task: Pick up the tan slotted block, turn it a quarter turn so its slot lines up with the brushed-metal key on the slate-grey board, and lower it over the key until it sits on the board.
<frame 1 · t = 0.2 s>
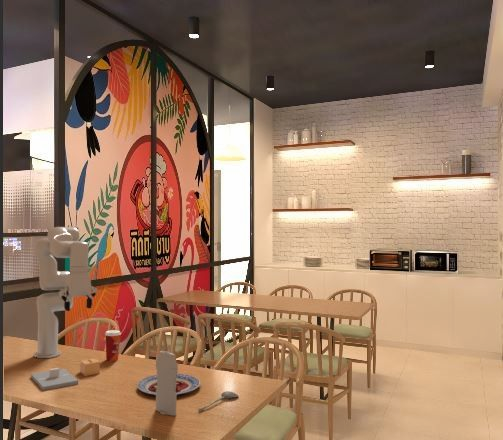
hand: (78, 309, 204), 30 cm above the table, tool pointing down, fingers open, 9 cm apart
paper cup: (112, 360, 233), on the table
soupspoon: (218, 404, 179), on the table
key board: (54, 380, 200), on the table
ceramic plate: (169, 388, 194), on the table
tall pale column: (165, 412, 169), on the table
tan slotted block: (89, 372, 212), on the table
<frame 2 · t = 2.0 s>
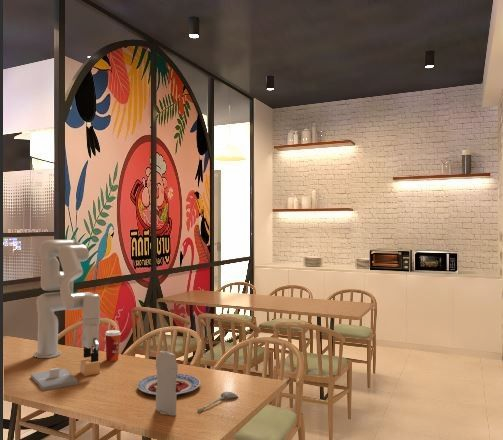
hand: (90, 359, 211), 6 cm above the table, tool pointing down, fingers open, 9 cm apart
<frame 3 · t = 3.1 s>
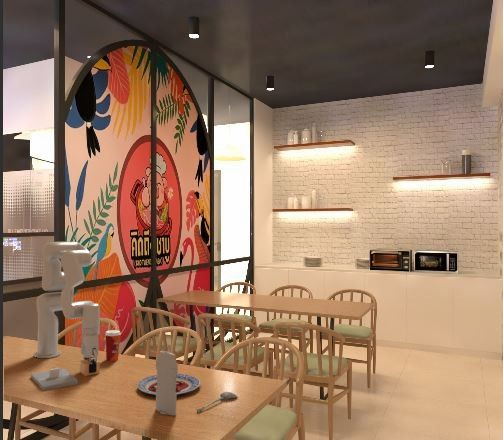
hand: (89, 370, 212), 1 cm above the table, tool pointing down, fingers closed on tan slotted block, 6 cm apart
tan slotted block: (89, 372, 212), on the table, touching gripper
everything else where it was.
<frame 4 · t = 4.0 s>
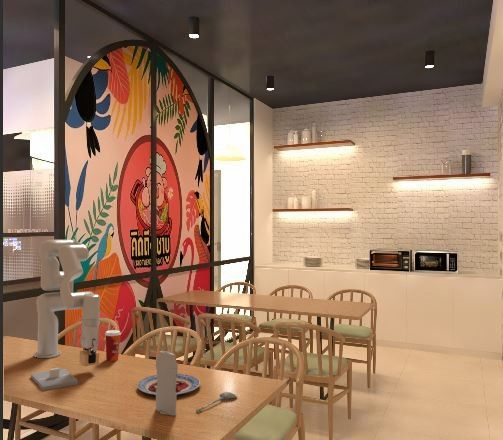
hand: (89, 360, 212), 5 cm above the table, tool pointing down, fingers closed on tan slotted block, 6 cm apart
tan slotted block: (89, 363, 212), point 4 cm above the table, touching gripper
everything else where it was.
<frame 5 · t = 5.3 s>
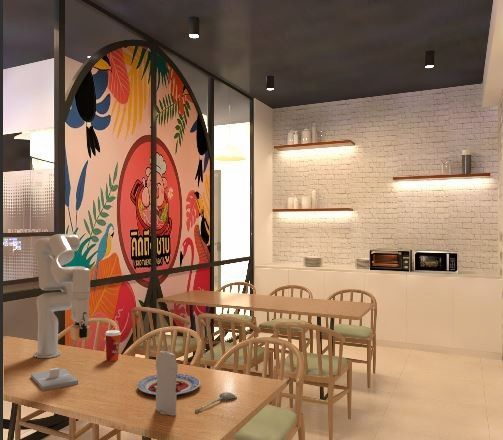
hand: (80, 335, 208), 18 cm above the table, tool pointing down, fingers closed on tan slotted block, 6 cm apart
tan slotted block: (80, 338, 208), point 16 cm above the table, touching gripper
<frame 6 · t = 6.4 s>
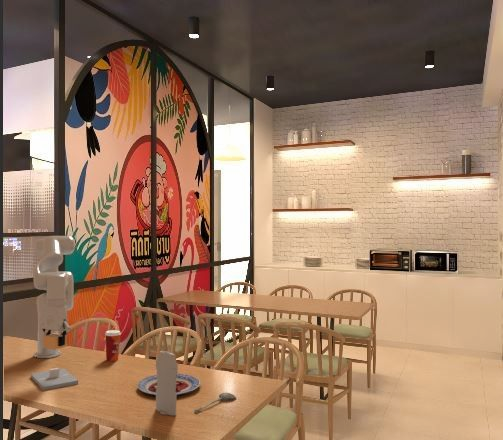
hand: (55, 344, 200), 16 cm above the table, tool pointing down, fingers closed on tan slotted block, 6 cm apart
tan slotted block: (55, 347, 200), point 14 cm above the table, touching gripper
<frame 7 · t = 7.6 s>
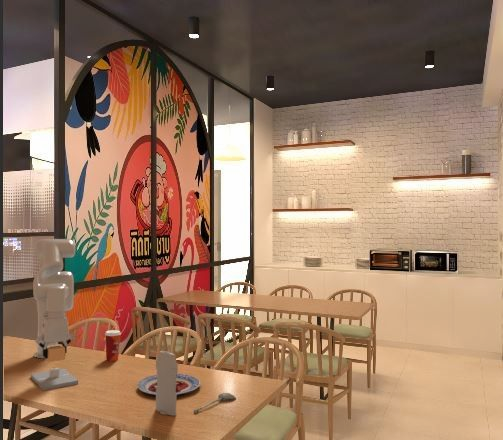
hand: (54, 356, 200), 10 cm above the table, tool pointing down, fingers closed on tan slotted block, 6 cm apart
tan slotted block: (54, 359, 200), point 9 cm above the table, touching gripper
when the fingers open (4 cm above the table, at t = 9.6 s): tan slotted block stays where it is, resting on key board.
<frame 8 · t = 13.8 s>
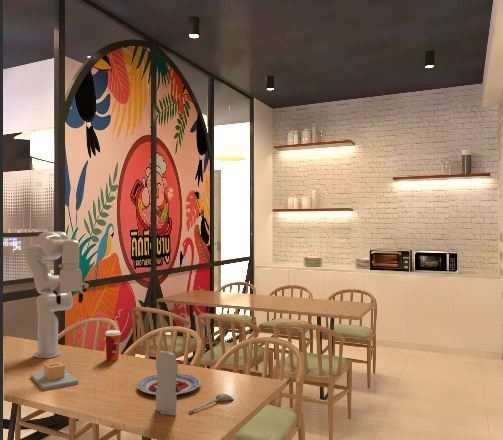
hand: (69, 303, 218), 30 cm above the table, tool pointing down, fingers open, 9 cm apart
soupspoon: (211, 406, 176), on the table
tan slotted block: (54, 377, 200), point 1 cm above the table, touching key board
everything else where it was.
at the end: tan slotted block 0.0 cm from the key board (horizontally); tan slotted block point 1.5 cm above the table; tan slotted block tilted 0° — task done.
